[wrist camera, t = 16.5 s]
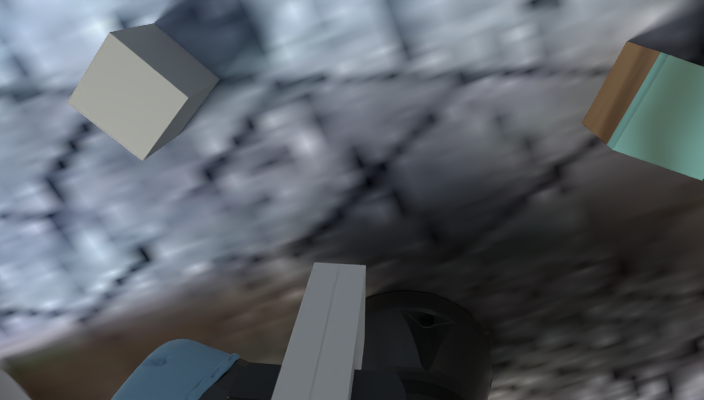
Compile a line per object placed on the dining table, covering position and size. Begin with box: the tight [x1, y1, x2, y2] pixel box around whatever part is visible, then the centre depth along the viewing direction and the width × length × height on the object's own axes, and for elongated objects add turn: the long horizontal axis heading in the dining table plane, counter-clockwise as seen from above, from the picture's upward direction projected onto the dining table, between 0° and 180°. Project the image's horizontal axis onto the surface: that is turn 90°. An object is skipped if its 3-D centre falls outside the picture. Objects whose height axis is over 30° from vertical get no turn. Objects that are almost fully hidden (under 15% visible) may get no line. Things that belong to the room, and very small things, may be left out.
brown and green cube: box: [582, 42, 704, 180], centre depth 32 cm, size 6×6×6 cm
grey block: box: [67, 23, 220, 161], centre depth 35 cm, size 6×6×6 cm
